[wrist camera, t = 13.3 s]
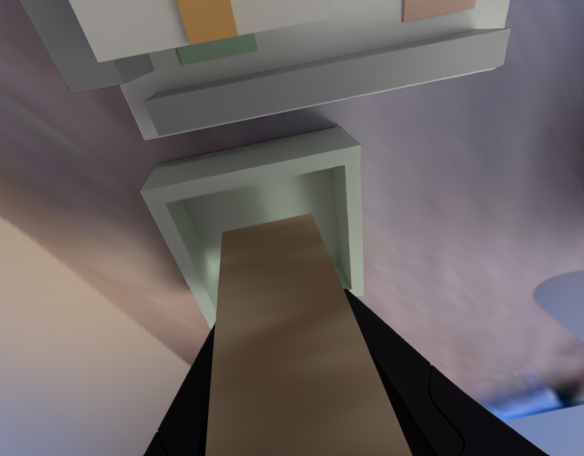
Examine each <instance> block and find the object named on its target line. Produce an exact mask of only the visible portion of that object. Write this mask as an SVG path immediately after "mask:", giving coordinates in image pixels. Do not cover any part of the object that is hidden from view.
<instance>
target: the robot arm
mask: <svg viewBox="0 0 584 456" xmlns="http://www.w3.org/2000/svg"><path fill="white" fill-rule="evenodd" d="M343 290H344V292H345V294H346V297H347V299H348V302H349V304H350V307H351V309H352V311H353V314H354V316H355V319H356V321H357V323H358V326H359V328H360V331H361V333H362V335H363V338H364V340H365V343H366V345H367V348H368V350H369V352H370V355H371V357H372V360H373V362H374V364H375V367H376V369H377V372H378V374H379V377H380V379H381V381H382V384H383V386H384V389H385V391H386V393H387V396H388V398H389V401H390V403H391V405H392V408H393V410H394V413H395V415H396V418H397V420H398V422H399V425H400V427H401V430H402V432H403V434H404V437H405V439H406V442H407V444H408V447H409V449H410V451H411V454H412V456H549V455H548V454H546V453H545V452H543V451H542V450H541V449H539V448H538V447H536V446H535V445H534V444H532V443H531V442H530V441H528V440H527V439H526V438H524V437H523V436H522V435H520V434H519V433H518V432H516V431H515V430H514V429H512V428H511V427H509V426H508V425H507V424H506V423H504V422H503V421H502V420H500V419H499V418H498V417H496V416H495V415H493V414H492V413H491V412H489V411H488V410H487V409H485V408H484V407H483V406H481V405H480V404H479V403H478V402H476V401H475V400H474V399H472V398H471V397H470V396H469V395H467V394H466V393H465V392H463V391H462V390H461V389H460V388H459V387H457V386H456V385H455V384H454V383H453V382H451V381H450V380H449V379H448V378H447V377H446V376H444V375H443V374H442V373H441V372H440V371H439V370H438V369H437V368H436V367H434V366H433V365H431V364H430V362H429V361H428V360H426V359H425V358H424V357H423V356H422V355H421V354H420V353H419V352H417V351H416V350H415V349H414V348H413V347H412V346H411V345H410V344H409V343H407V342H406V341H405V340H404V339H403V338H402V337H401V336H400V335H398V334H397V333H396V332H395V331H394V330H393V329H392V328H391V327H390V326H388V325H387V324H386V323H385V322H384V321H383V320H382V319H381V318H379V317H378V316H377V315H376V314H375V313H374V312H373V311H372V310H370V309H369V308H368V307H367V306H366V305H365V304H364V303H363V302H362V301H360V300H359V299H358V298H357V297H356V296H355V295H354V294H353V293H351V292H350V291H349V290H348V289H346V288H344V289H343ZM214 335H215V324H214V325H213V327H212V329H211V331H210V333H209V335H208V337H207V338H206V340H205V342H204V344H203V346H202V348H201V350H200V352H199V353H198V355H197V357H196V359H195V361H194V363H193V365H192V366H191V368H190V370H189V372H188V374H187V376H186V378H185V380H184V381H183V383H182V385H181V387H180V389H179V391H178V393H177V394H176V396H175V398H174V400H173V402H172V404H171V406H170V407H169V409H168V411H167V413H166V415H165V417H164V419H163V421H162V422H161V424H160V426H159V428H158V432H156V433H155V435H154V437H153V439H152V441H151V443H150V444H149V446H148V448H147V450H146V452H145V453H144V455H143V456H205V454H206V441H207V427H208V414H209V401H210V388H211V375H212V362H213V348H214Z"/></svg>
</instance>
